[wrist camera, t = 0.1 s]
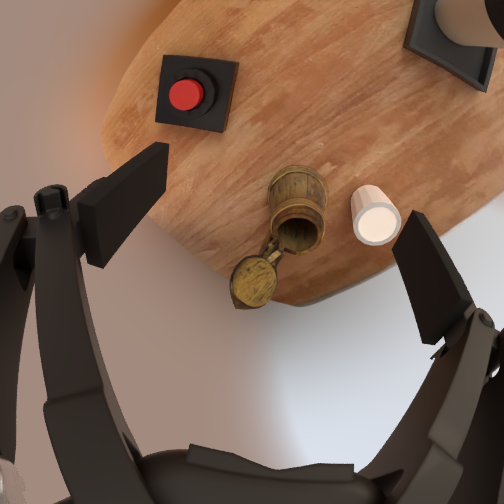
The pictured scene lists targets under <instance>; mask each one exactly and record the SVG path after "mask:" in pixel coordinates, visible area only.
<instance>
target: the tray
mask: <svg viewBox="0 0 504 504" xmlns="http://www.w3.org/2000/svg"><path fill="white" fill-rule="evenodd" d="M437 1H438V0H414V4H413V9H412V13H411V17H410V21H409V25H408V29H407V33H406V37H405V41H404V45H403V47H404V48H406V49H408V50H410V51H412V52H414V53H416V54H418V55H420V56H422V57H424V58H426V59H427V60H429V61H431V62H433V63H435V64H437V65H438V66H440V67H442V68H444V69H445V70H447V71H449V72H450V73H452V74H454V75H455V76H457V77H458V78H460V79H461V80H463V81H465V82H466V83H468V84H469V85H471V86H472V87H474V88H475V89H476V90H478V91H481V92H485V93H486V91H487V88H488V84H489V81H490V77H491V73H492V69H493V65H494V61H495V57H496V52H497V48H495V47H482V46H463V45H459V44H457V43H455V42H453V41H452V40H450V39H449V38H448V37H447V36H446V35H445V34H444V33H443V32H442V30H441V29H440V27H439V25H438V23H437V21H436V18H435V12H434V8H435V4H436V2H437Z"/></svg>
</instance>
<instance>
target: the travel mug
mask: <svg viewBox="0 0 504 504" xmlns="http://www.w3.org/2000/svg"><path fill="white" fill-rule="evenodd" d="M434 12H435V18H436V21H437V23H438V25H439V27H440V29H441V30H442V32H443V33H444V34H445V35H446V36H447V37H448V38H449V39H450V40H452V41H453V42H455V43H457V44H459V45H463V46H482V47H495V48H504V0H438V1H437V2H436V4H435V8H434Z"/></svg>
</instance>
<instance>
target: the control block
mask: <svg viewBox="0 0 504 504" xmlns="http://www.w3.org/2000/svg"><path fill="white" fill-rule="evenodd" d="M238 66H239V62H232V61H226V60H219V59H211V58H202V57H192V56H179V55H163V61H162V67H161V74H160V82H159V90H158V98H157V107H156V117H155V122H158V123H166V124H173V125H179V126H186V127H192V128H198V129H203V130H209V131H214V132H219V133H223V132H224V131H225V130H226V126H227V121H228V116H229V111H230V105H231V100H232V95H233V90H234V85H235V81H236V76H237V71H238ZM186 79H192V80H195V81H197V82H198V83H199V84H200V85H201V86H202V88H203V93H204V94H203V99H202V101H201V102H200V104H199V105H197V106H196V107H194V108H192V109H189V110H179V109H177V108H175V107H174V106H173V105H172V103H171V102H170V98H169V93H170V90H171V88H172V86H173V85H174V84H175V83H177V82H178V81H181V80H186Z"/></svg>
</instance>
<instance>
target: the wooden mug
mask: <svg viewBox="0 0 504 504" xmlns="http://www.w3.org/2000/svg"><path fill="white" fill-rule="evenodd" d="M327 198H328V190H327V186H326V183H325V181H324V179H323V178H322V177H321V176H320V175H319V174H318V173H317V172H316V171H314V170H313V169H311V168H308V167H305V166H289V167H286V168H284V169H282V170H281V171H280V172H278V173H277V174H276V175H275V176H274V178H273V179H272V180H271V183H270V185H269V187H268V202H269V206H270V209H271V216H270V230H269V232H268V234H267V236H266V238H265V240H264V242H263V244H262V246H261V249H260V252H259V255H251V256H247V257H245V258H243V259H242V260H241V261H240V262H239V263H238V264H237V265H236V267H235V268H234V270H233V272H232V274H231V278H230V294H231V298H232V300H233V304H234V306H235V308H236V309H255V308H260V307H262V306H264V305H265V304H266V303H267V302H268V301H269V300H270V298H271V297H272V295H273V293H274V291H275V289H276V285H277V271H276V266H277V265H278V263H279V261H280V260H281V259H282V257H283V256H284V255H283V254H282V253H283V251H286V252H288V253H291V254H294V255H303V254H307V253H309V252H311V251H313V250H314V249H316V248H317V247H318V245H319V244H320V243H321V240H322V238H323V235H324V232H325V224H326V217H325V213H324V211H325V207H326V204H327ZM273 241H275V242H274V243H273Z"/></svg>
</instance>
